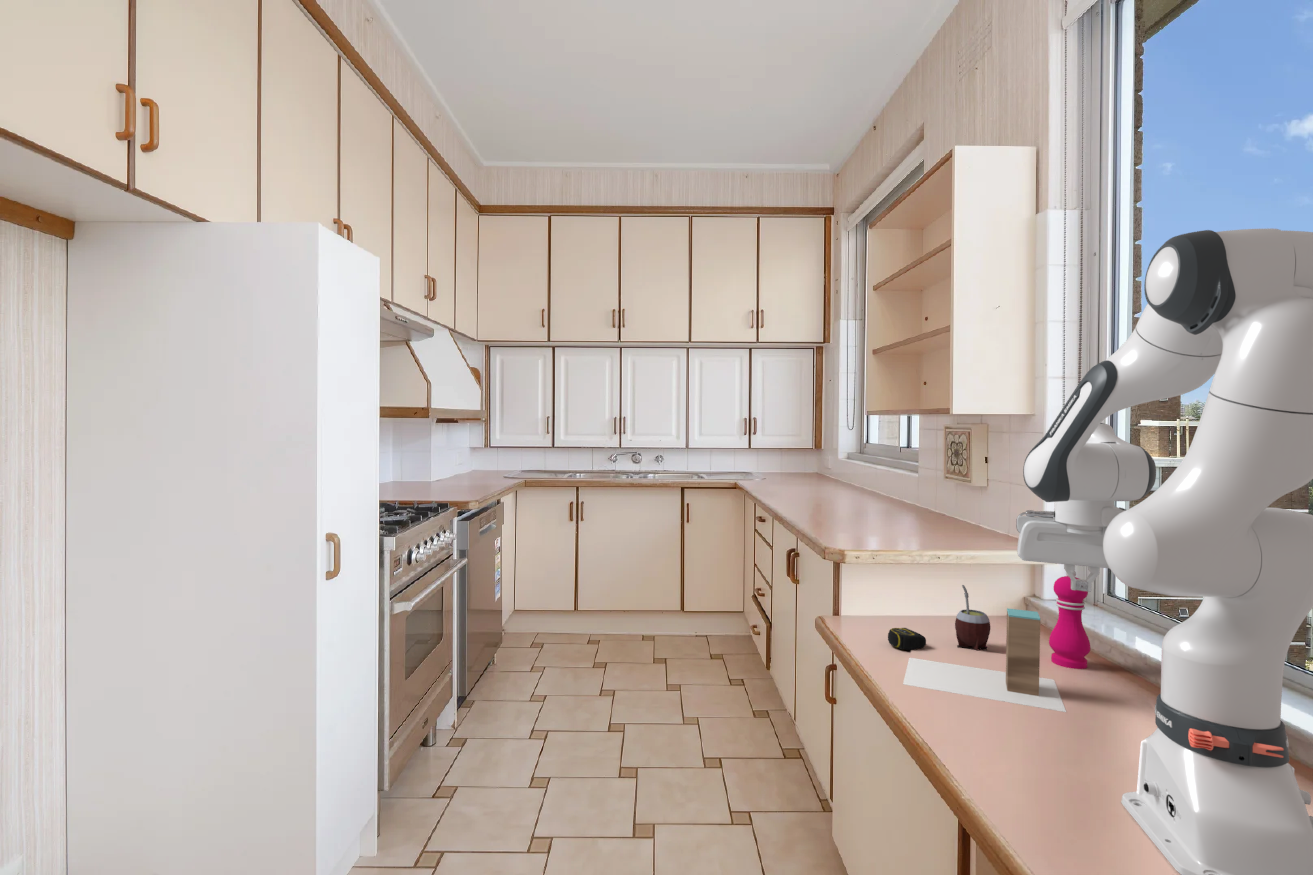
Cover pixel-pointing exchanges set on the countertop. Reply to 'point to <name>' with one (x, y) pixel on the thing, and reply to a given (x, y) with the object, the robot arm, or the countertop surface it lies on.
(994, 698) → the white flat rectangular panel
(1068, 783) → the countertop surface
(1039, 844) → the countertop surface
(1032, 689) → the walnut block
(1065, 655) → the pepper mill
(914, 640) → the tape measure
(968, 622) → the mate gourd
